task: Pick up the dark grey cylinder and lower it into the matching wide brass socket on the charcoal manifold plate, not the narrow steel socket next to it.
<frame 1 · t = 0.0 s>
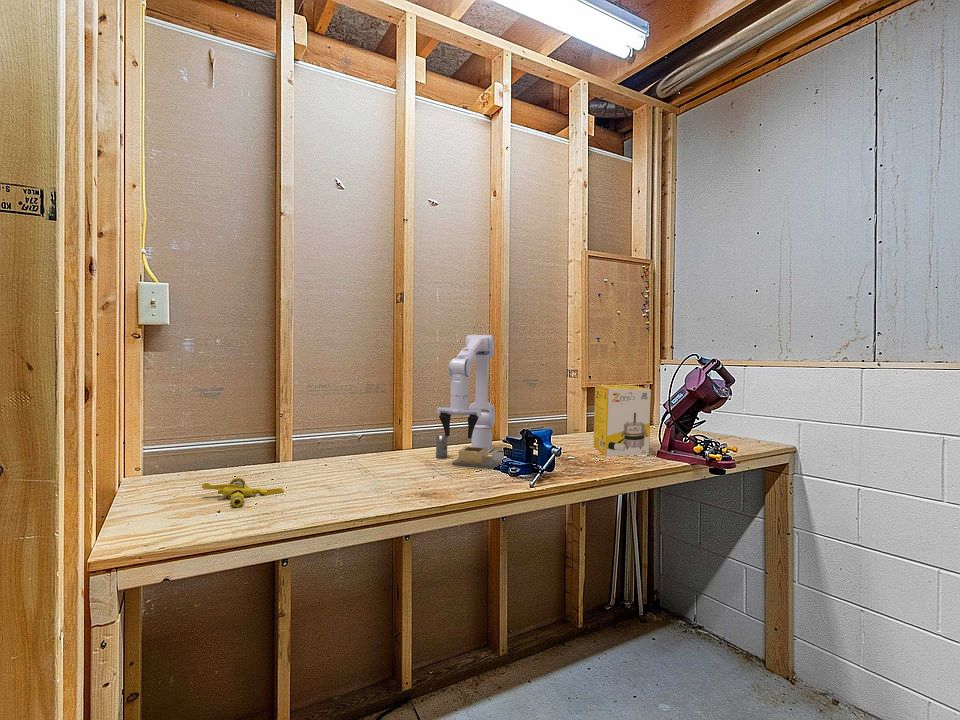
hand: (458, 437, 162), 10 cm above the workbench, fingers open, 7 cm apart
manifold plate: (483, 463, 170), on the workbench
dark grey cylinder: (441, 457, 177), on the workbench
sprinkler: (243, 500, 128), on the workbench
packaging box: (620, 452, 194), on the workbench
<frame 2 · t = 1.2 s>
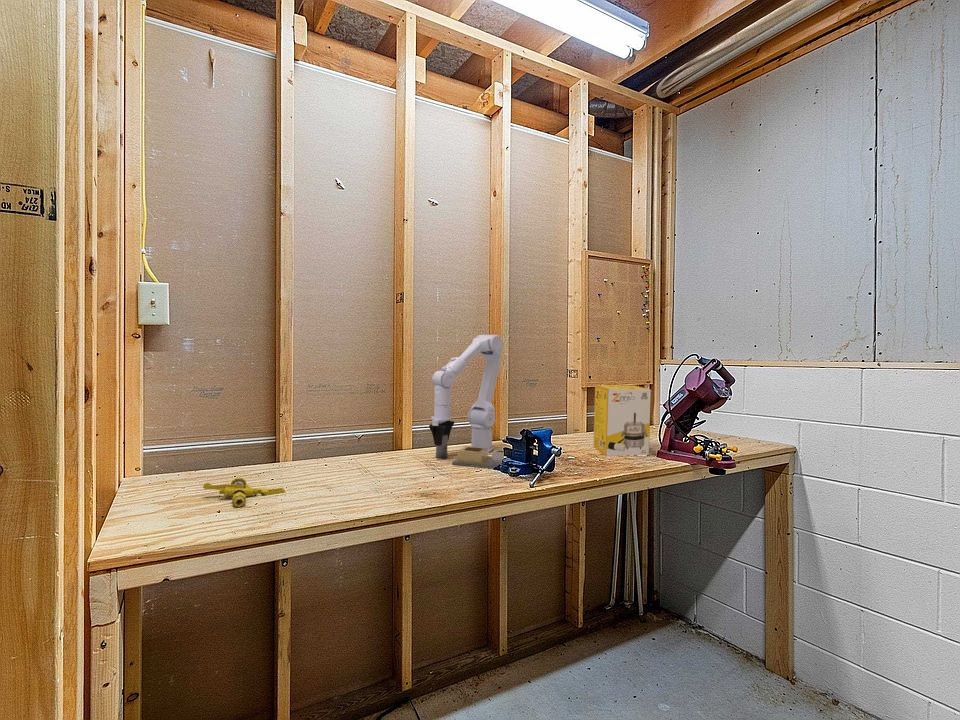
hand: (441, 443, 177), 5 cm above the workbench, fingers open, 7 cm apart
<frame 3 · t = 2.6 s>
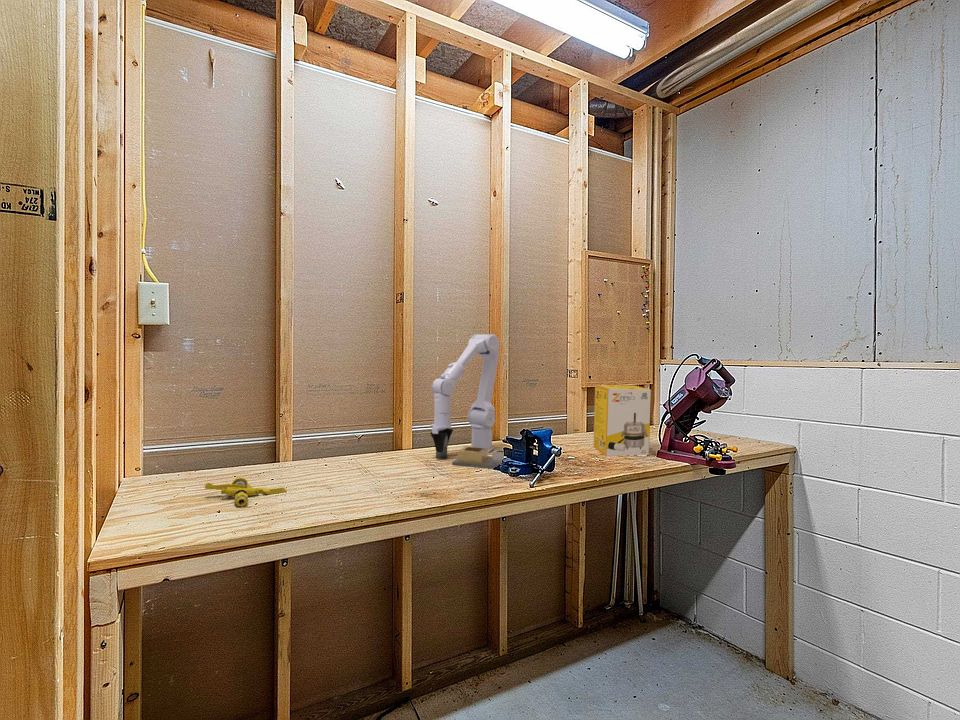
hand: (441, 450, 177), 2 cm above the workbench, fingers closed on dark grey cylinder, 4 cm apart
dark grey cylinder: (441, 457, 177), on the workbench, touching gripper
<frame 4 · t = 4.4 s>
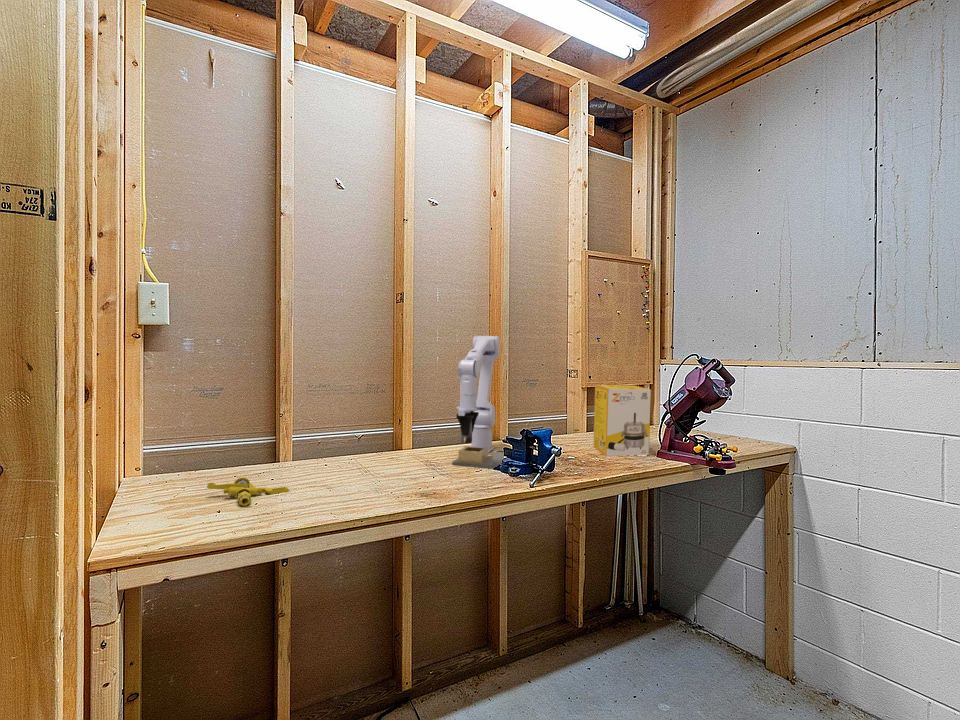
hand: (467, 434, 172), 9 cm above the workbench, fingers closed on dark grey cylinder, 4 cm apart
dark grey cylinder: (466, 441, 172), point 7 cm above the workbench, touching gripper
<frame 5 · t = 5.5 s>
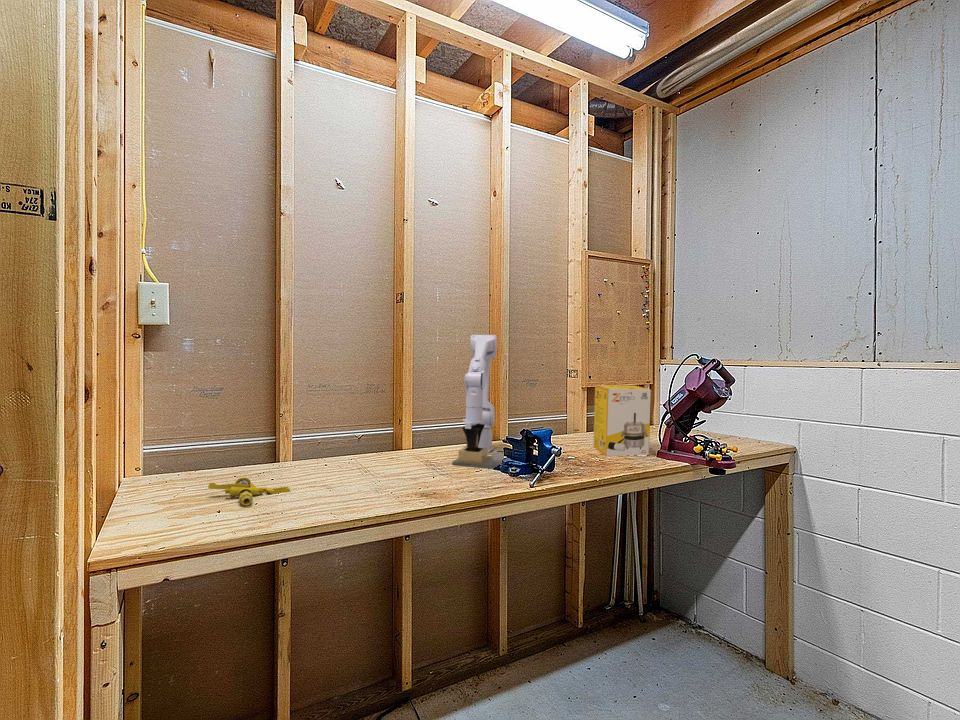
hand: (473, 446, 171), 5 cm above the workbench, fingers closed on dark grey cylinder, 4 cm apart
dark grey cylinder: (472, 454, 171), point 3 cm above the workbench, touching gripper
when the fingers open (5 cm above the workbench, at t = 6.2 s): dark grey cylinder drops 2 cm, resting on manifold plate.
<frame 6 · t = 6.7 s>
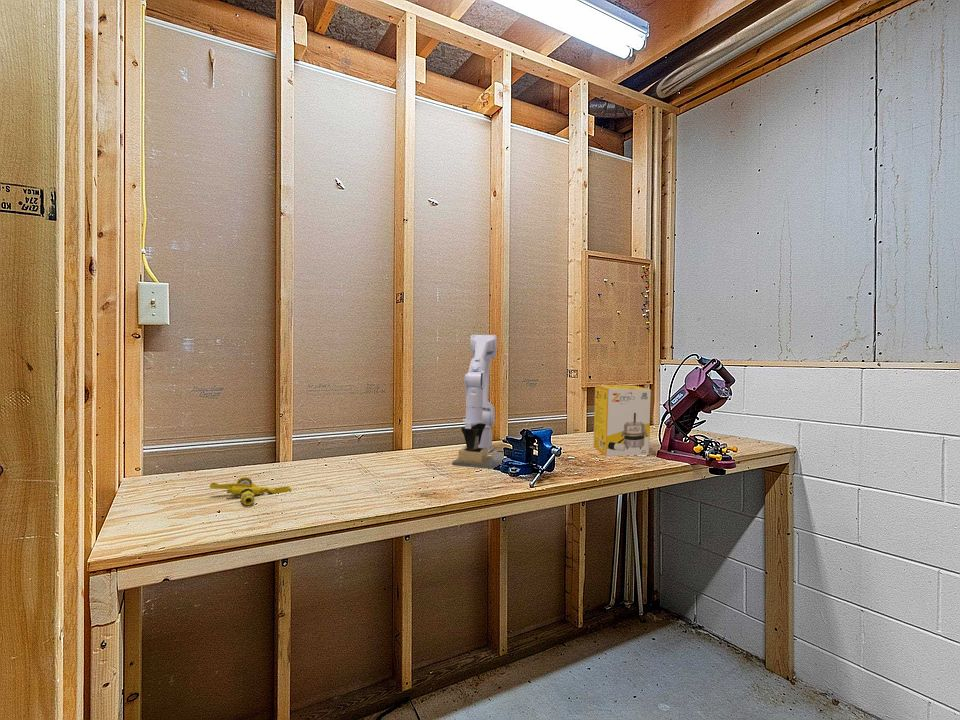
hand: (473, 446, 171), 5 cm above the workbench, fingers open, 7 cm apart
dark grey cylinder: (472, 459, 171), point 1 cm above the workbench, touching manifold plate
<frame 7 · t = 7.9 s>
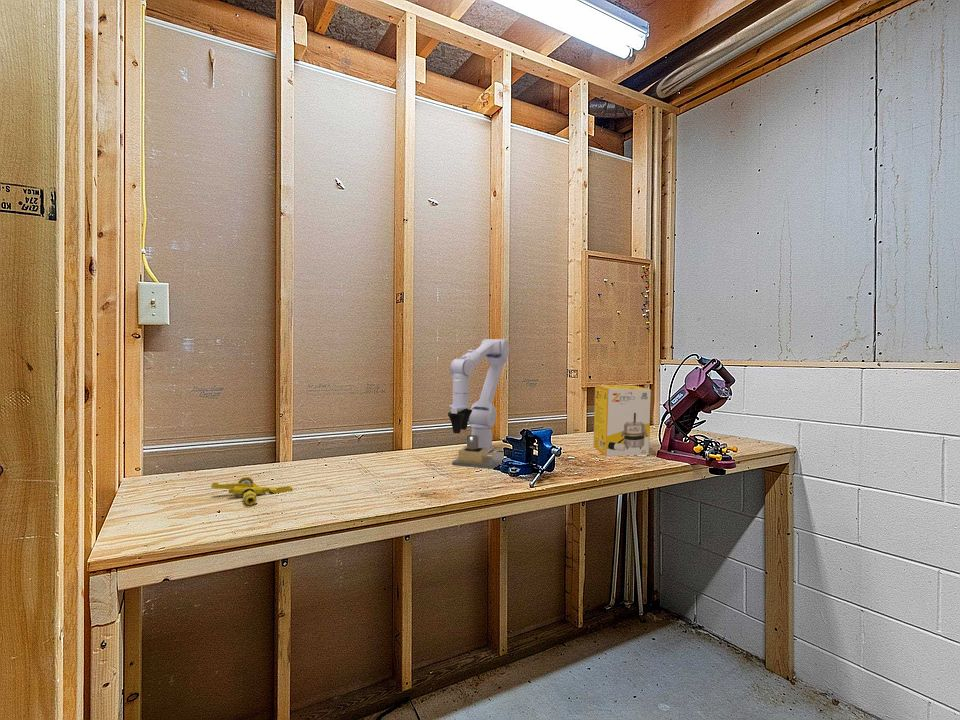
hand: (460, 431, 177), 9 cm above the workbench, fingers open, 7 cm apart
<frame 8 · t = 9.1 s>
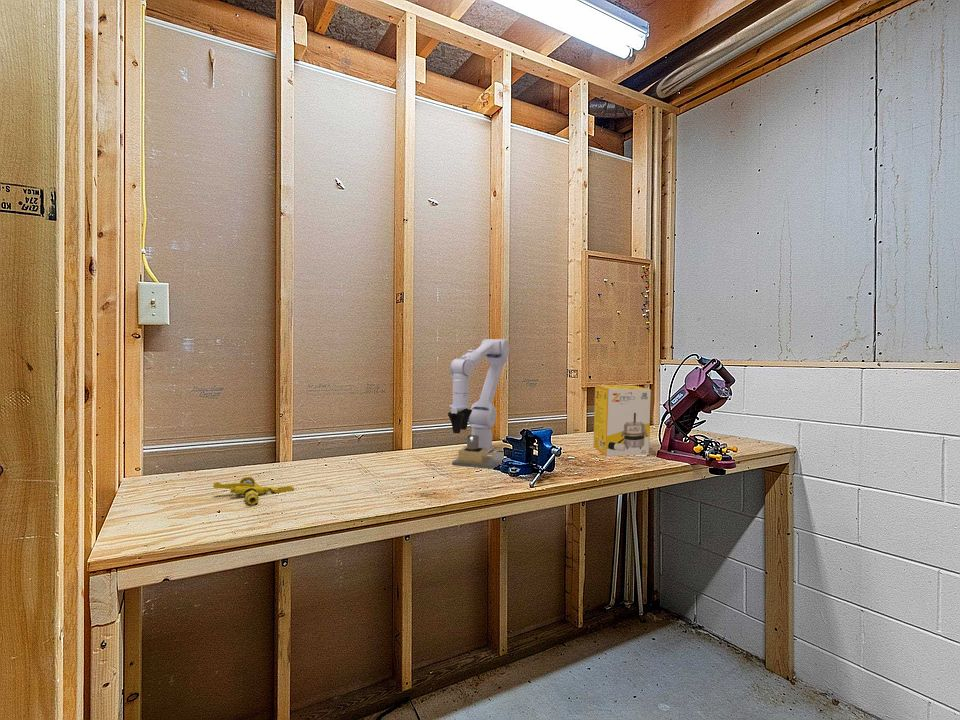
hand: (459, 431, 177), 9 cm above the workbench, fingers open, 7 cm apart
at the end: dark grey cylinder 0.3 cm from the target spot on the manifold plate, point 1.0 cm above the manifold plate's base; dark grey cylinder tilted 0°; the gripper is holding nothing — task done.
